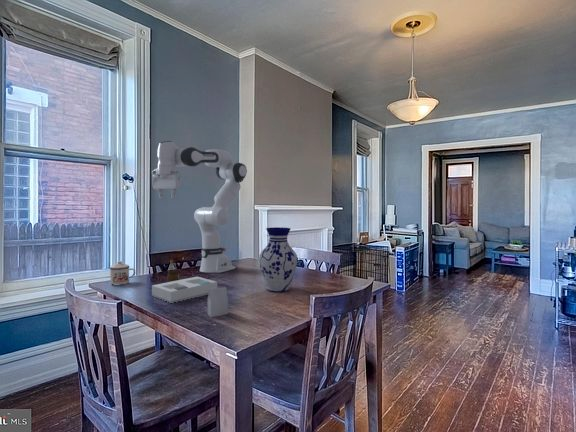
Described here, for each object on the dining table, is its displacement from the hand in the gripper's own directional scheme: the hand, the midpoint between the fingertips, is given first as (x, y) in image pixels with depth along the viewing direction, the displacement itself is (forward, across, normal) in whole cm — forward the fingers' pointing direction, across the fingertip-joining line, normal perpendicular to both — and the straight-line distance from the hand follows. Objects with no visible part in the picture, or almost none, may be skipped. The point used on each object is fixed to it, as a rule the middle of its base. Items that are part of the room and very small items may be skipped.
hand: (166, 197), depth 180 cm
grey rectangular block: (+45, -61, +22) cm, 79 cm away
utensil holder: (+45, -8, +2) cm, 45 cm away
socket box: (+44, -29, +12) cm, 54 cm away
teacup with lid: (+45, +14, +16) cm, 50 cm away
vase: (+45, -59, -20) cm, 76 cm away
